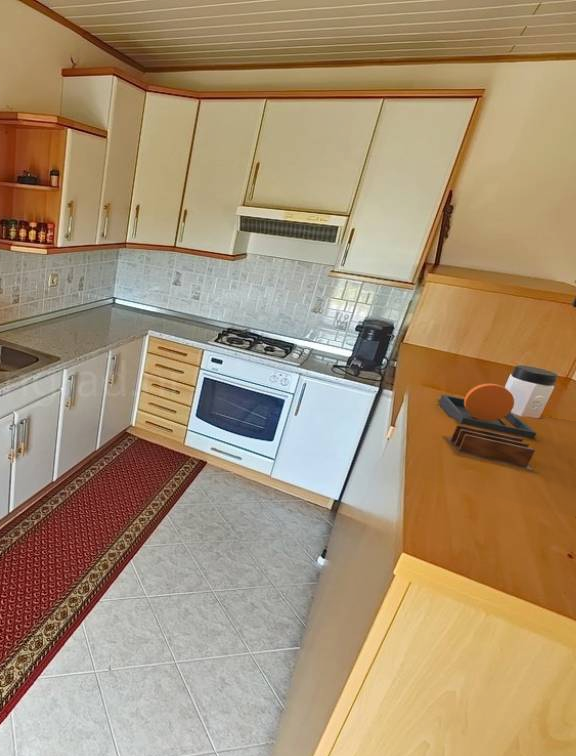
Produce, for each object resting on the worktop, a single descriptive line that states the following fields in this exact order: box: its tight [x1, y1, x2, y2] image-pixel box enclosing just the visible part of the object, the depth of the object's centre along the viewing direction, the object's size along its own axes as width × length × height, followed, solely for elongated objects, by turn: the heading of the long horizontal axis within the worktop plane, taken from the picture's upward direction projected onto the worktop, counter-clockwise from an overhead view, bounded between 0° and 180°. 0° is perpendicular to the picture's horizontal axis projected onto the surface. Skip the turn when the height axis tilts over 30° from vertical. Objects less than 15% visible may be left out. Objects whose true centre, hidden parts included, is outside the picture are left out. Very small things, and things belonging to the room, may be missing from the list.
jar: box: [503, 364, 559, 419], centre depth 124 cm, size 9×8×12 cm
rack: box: [445, 424, 536, 471], centre depth 98 cm, size 12×9×5 cm
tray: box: [438, 394, 538, 440], centre depth 117 cm, size 14×18×3 cm
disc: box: [463, 383, 514, 421], centre depth 116 cm, size 9×2×9 cm, turn 66°
